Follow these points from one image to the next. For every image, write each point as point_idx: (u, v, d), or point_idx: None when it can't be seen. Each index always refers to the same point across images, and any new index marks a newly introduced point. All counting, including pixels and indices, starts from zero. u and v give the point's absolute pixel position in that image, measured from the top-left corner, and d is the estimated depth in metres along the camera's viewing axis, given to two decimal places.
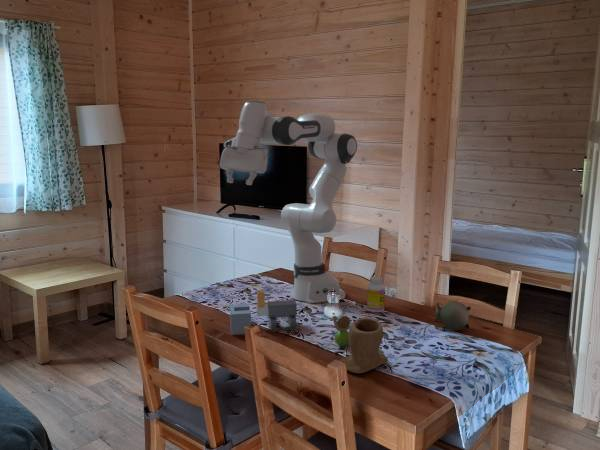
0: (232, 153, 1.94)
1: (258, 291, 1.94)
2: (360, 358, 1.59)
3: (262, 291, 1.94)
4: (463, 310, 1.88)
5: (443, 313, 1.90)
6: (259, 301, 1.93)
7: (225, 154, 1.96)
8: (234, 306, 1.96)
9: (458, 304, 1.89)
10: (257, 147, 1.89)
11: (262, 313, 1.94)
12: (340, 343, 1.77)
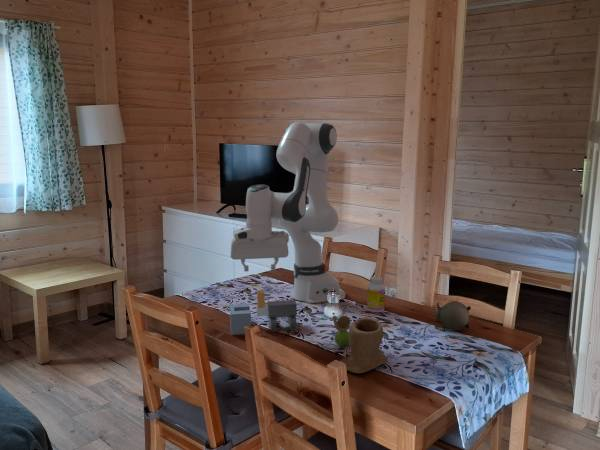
0: (247, 243, 1.88)
1: (258, 291, 1.94)
2: (360, 358, 1.59)
3: (262, 291, 1.94)
4: (463, 310, 1.88)
5: (443, 313, 1.90)
6: (259, 301, 1.93)
7: (237, 245, 1.87)
8: (234, 306, 1.96)
9: (458, 304, 1.89)
10: (275, 233, 1.90)
11: (262, 313, 1.94)
12: (340, 343, 1.77)
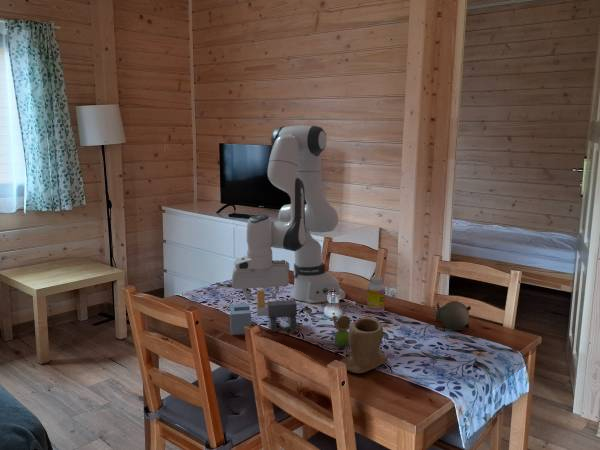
0: (248, 272, 1.90)
1: (258, 291, 1.94)
2: (360, 358, 1.59)
3: (262, 291, 1.94)
4: (463, 310, 1.88)
5: (443, 313, 1.90)
6: (259, 301, 1.93)
7: (238, 275, 1.89)
8: (234, 306, 1.96)
9: (458, 304, 1.89)
10: (276, 262, 1.92)
11: (262, 313, 1.94)
12: (340, 343, 1.77)
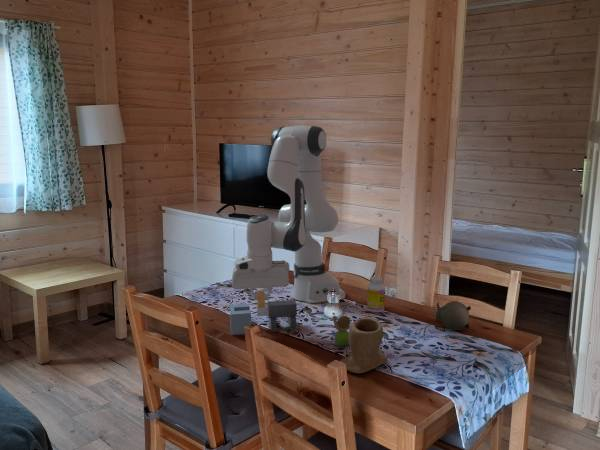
0: (248, 273, 1.90)
1: (258, 291, 1.94)
2: (360, 358, 1.59)
3: (262, 291, 1.94)
4: (463, 310, 1.88)
5: (443, 313, 1.90)
6: (259, 301, 1.93)
7: (238, 276, 1.89)
8: (234, 306, 1.96)
9: (458, 304, 1.89)
10: (276, 263, 1.92)
11: (262, 313, 1.94)
12: (340, 343, 1.77)
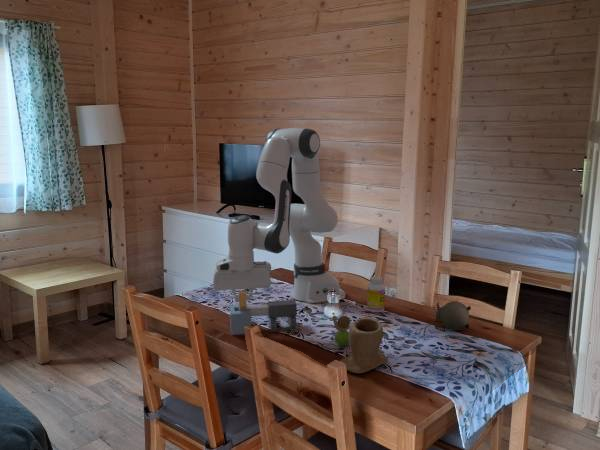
0: (229, 274, 1.89)
1: (240, 292, 1.93)
2: (360, 358, 1.59)
3: (244, 292, 1.93)
4: (463, 310, 1.88)
5: (443, 313, 1.90)
6: (241, 302, 1.92)
7: (219, 276, 1.88)
8: (234, 306, 1.96)
9: (458, 304, 1.89)
10: (258, 263, 1.91)
11: None
12: (340, 343, 1.77)
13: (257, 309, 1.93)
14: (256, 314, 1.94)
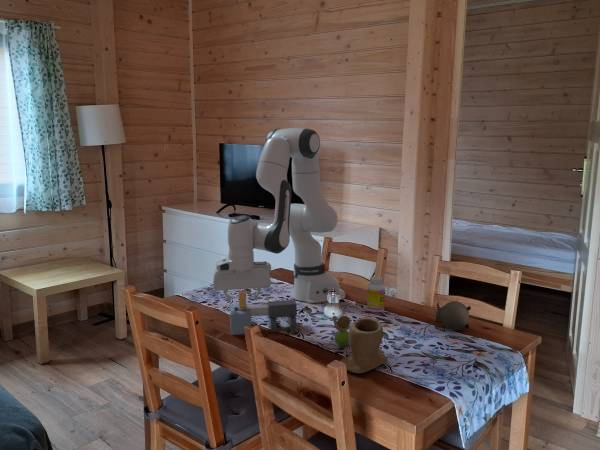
0: (229, 274, 1.89)
1: (240, 292, 1.93)
2: (360, 358, 1.59)
3: (244, 292, 1.93)
4: (463, 310, 1.88)
5: (443, 313, 1.90)
6: (241, 302, 1.92)
7: (219, 277, 1.88)
8: (234, 306, 1.96)
9: (458, 304, 1.89)
10: (257, 263, 1.91)
11: None
12: (340, 343, 1.77)
13: (257, 309, 1.93)
14: (256, 314, 1.94)
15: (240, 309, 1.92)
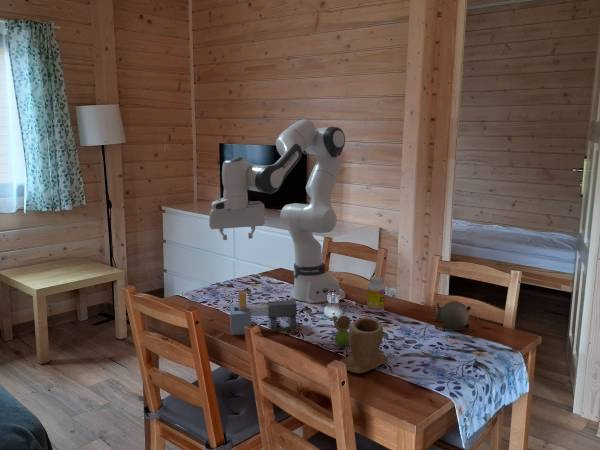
0: (224, 213, 1.98)
1: (240, 292, 1.93)
2: (360, 358, 1.59)
3: (244, 292, 1.93)
4: (463, 310, 1.88)
5: (443, 313, 1.90)
6: (241, 302, 1.92)
7: (215, 216, 1.97)
8: (234, 306, 1.96)
9: (458, 304, 1.89)
10: (251, 203, 2.00)
11: None
12: (340, 343, 1.77)
13: (257, 309, 1.93)
14: (256, 314, 1.94)
15: (240, 309, 1.92)
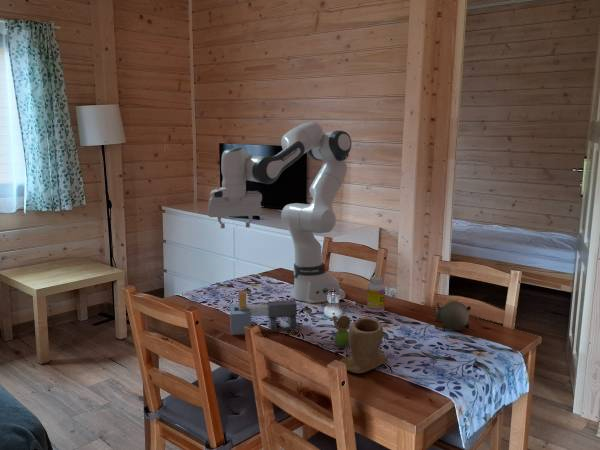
0: (223, 201, 2.03)
1: (240, 292, 1.93)
2: (360, 358, 1.59)
3: (244, 292, 1.93)
4: (463, 310, 1.88)
5: (443, 313, 1.90)
6: (241, 302, 1.92)
7: (213, 204, 2.02)
8: (234, 306, 1.96)
9: (458, 304, 1.89)
10: (249, 193, 2.05)
11: None
12: (340, 343, 1.77)
13: (257, 309, 1.93)
14: (256, 314, 1.94)
15: (240, 309, 1.92)
